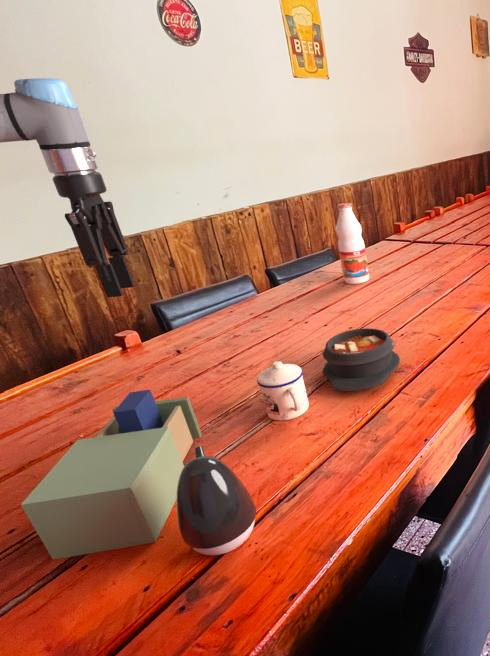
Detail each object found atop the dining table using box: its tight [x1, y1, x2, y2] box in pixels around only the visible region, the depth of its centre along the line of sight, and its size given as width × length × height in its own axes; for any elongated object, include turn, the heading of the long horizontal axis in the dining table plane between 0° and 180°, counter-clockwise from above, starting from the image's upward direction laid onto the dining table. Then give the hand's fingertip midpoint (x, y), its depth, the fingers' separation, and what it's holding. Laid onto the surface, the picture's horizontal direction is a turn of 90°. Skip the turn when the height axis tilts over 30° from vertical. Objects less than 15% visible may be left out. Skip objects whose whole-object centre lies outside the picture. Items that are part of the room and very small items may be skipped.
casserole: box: [322, 327, 401, 392], centre depth 123 cm, size 25×19×8 cm
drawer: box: [95, 396, 203, 463], centre depth 95 cm, size 19×13×9 cm
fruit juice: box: [335, 202, 370, 285], centre depth 185 cm, size 9×9×28 cm
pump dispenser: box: [176, 445, 257, 556], centre depth 75 cm, size 10×10×15 cm
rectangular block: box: [112, 389, 164, 433], centre depth 93 cm, size 4×7×12 cm, turn 11°
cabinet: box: [20, 427, 185, 560], centre depth 82 cm, size 16×14×11 cm
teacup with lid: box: [256, 360, 310, 421], centre depth 107 cm, size 12×9×12 cm
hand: (121, 291), depth 105 cm, fingers open, 5 cm apart
